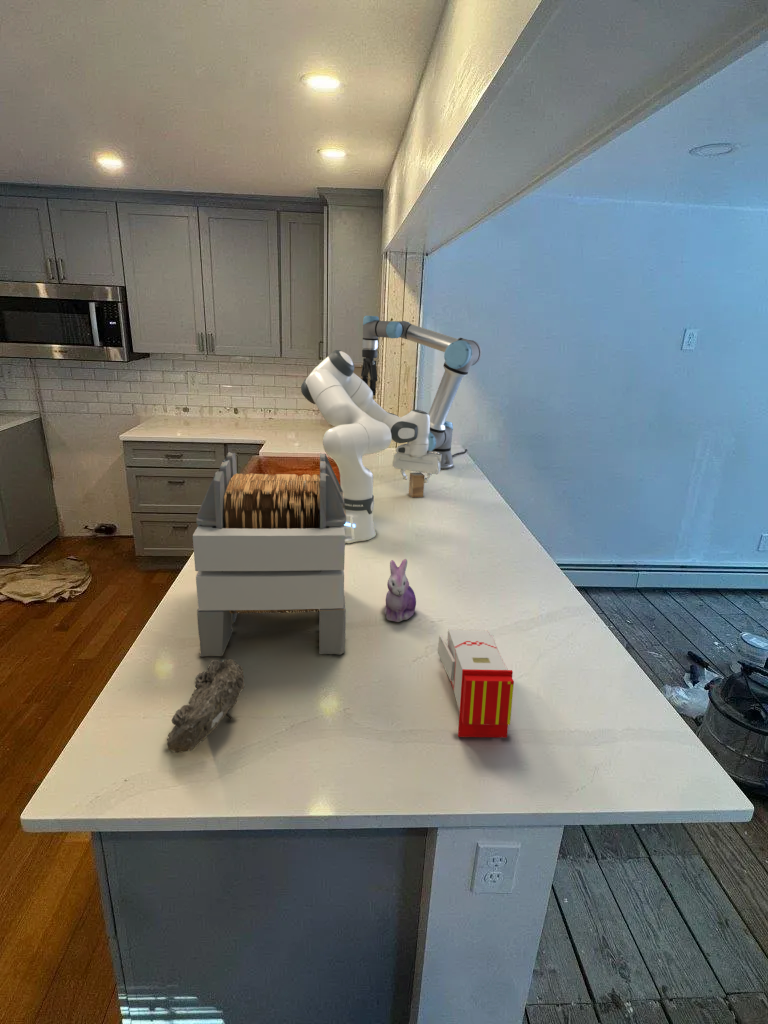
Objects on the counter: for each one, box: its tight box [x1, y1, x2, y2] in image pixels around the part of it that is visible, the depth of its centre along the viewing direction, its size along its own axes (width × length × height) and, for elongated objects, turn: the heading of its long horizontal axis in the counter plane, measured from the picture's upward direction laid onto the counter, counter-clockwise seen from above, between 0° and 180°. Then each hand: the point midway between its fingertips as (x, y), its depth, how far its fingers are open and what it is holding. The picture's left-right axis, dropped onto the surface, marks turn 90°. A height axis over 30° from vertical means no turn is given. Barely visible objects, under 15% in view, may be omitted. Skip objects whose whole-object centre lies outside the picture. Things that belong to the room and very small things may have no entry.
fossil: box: [166, 658, 245, 754], centre depth 106 cm, size 22×10×15 cm
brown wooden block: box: [408, 472, 426, 499], centre depth 240 cm, size 5×5×10 cm
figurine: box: [384, 558, 417, 623], centre depth 145 cm, size 9×10×15 cm
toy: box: [437, 628, 515, 738], centre depth 117 cm, size 12×13×30 cm
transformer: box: [192, 452, 347, 658], centre depth 136 cm, size 34×33×41 cm
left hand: (415, 481), depth 240 cm, fingers open, 8 cm apart
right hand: (368, 393), depth 284 cm, fingers open, 13 cm apart
